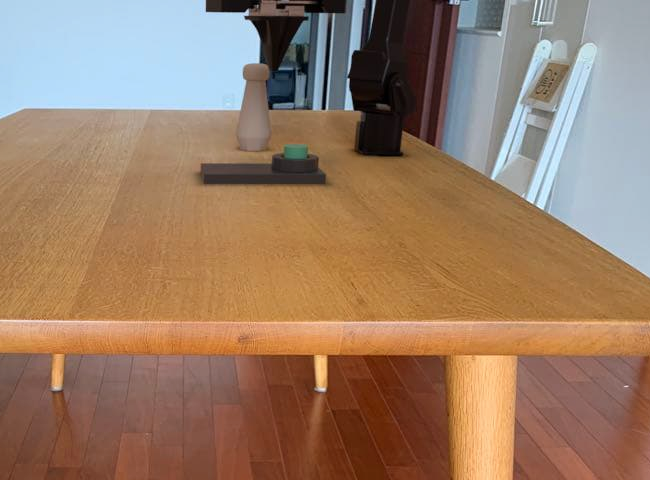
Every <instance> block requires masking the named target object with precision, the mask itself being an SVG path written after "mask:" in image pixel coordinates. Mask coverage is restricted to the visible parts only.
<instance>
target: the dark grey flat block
mask: <svg viewBox="0 0 650 480" xmlns="http://www.w3.org/2000/svg"><path fill="white" fill-rule="evenodd" d="M283 156H284V152H280V153H279V152H278V153H275V154H272V155H271V163H255V162H254V163H251V162H250V163H247V162H246V163H241V162H240V163H228V162H227V163H223V162H221V163H219V162H218V163H216V162H214V163H213V162H212V163H210V162H209V163H208V162H207V163H206V162H203V163H202V162H201V163H200V176H201V179H202V181H203V182H202V183H203V184H204V185H326V178H327V173H325V172H324V171H323V169H321V168H320V167H319V162H320V157H319V156H318V155H317V154H311V153H308V155H307V158H304V159H292V158H284V157H283Z"/></svg>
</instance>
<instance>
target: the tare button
mask: <svg viewBox="0 0 650 480" xmlns="http://www.w3.org/2000/svg"><path fill="white" fill-rule="evenodd" d="M283 153H284V156H283V157H284V158H292V159H304V158H307V155H308V154H309V145H307V144H303V143H287V144H284V145H283Z"/></svg>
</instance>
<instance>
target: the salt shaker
mask: <svg viewBox="0 0 650 480" xmlns="http://www.w3.org/2000/svg"><path fill="white" fill-rule="evenodd" d="M270 73H271V71H269V68H268V65H267V64H265V63H259V62H258V63H257V62H256V63H255V62H253V63H247V64H244V66H243V67H242V78H243V80H245V85H244V90H243V95H242V101H241V105H240V111H239V116H238V121H237V126H236V129H235V130H236V131H235V135H236V136H235V138H236V141H237V143H238V146H239V149H240V150H242V151H246V152H247V151H248V152H249V151H250V152H260V151H261V152H262V151H265V150H266V149H267V147H268V145H269V142H270V140H271V138H272V128H271V120H270V119H271V118H270V110H269V109H270V108H269V102H268V91H267V83H266V81H267V80H269V78H270Z"/></svg>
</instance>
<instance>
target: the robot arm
mask: <svg viewBox="0 0 650 480" xmlns="http://www.w3.org/2000/svg"><path fill="white" fill-rule="evenodd" d="M410 3H411V0H375V3H374V9H373V14H372V20H371V26H370V32H369V37H368V40H367V41H366V42H365V44H364V46H363V47H362V48H361V49H354V50H353V52H352V54H351V58H350V68H349V71H348V73H347V77H346V79H349V80H348V90H349V92H350V97H351V102H352V110H353V111H354V112H360V119H359V120H357V121H356V125H355V137H354V150H355V151H357V152H359V153H360V155H363V156H403V155H404V152H405V151H402V149H401V147H402V139H403V131H404V123H405V117H406V116H409V115H413V114H414V112H415V109H416V106H417V103H418V99H417V97H416V95H415V93H414V91H413V89H412V88H411V86H410V84H409V82H408V80H407V79H408V68H409V61H408V58H407V56H406V52H405V49H404V45H403V38H404V33H405V29H406V28H405V27H406V23H407V18H408V13H409V8H410ZM247 11H248V15H243V18H244V20H245V21H250V22H251V24H252V26H253V27H254V28H255V30H256V32H257V35H258V37H259V40H260V43H261V46H262V50H263V54H264V57H265V62H266V65H267V66H268V68H269V71H270V73H277V72H278V71H279V69H280V67H281V64H282V62H283V61H284V58H285V56H286V54H287V52H288V49H289V47H290V45H291V43H292V41H293V40H294V38H295V36H296V35H297V32H298V31H299V30H300V28H301V25H302V23H303V22H305V21H306V22H307V21H309V18H310V16H309V15H308V16H307V15H306V16H305V14H346V12H347V0H205V13H225V14H226V13H232V14H234V13H237V14H238V13H239V14H243V13H246V12H247Z"/></svg>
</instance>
